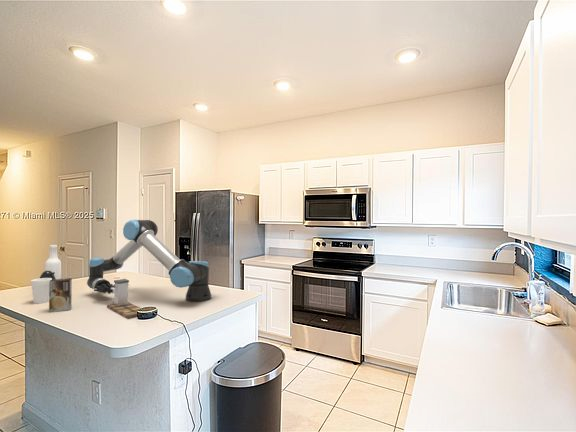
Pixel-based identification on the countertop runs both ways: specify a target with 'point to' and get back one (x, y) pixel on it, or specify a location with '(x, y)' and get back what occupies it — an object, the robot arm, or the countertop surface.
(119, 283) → the silver square canister
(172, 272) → the robot arm
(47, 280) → the foam cup
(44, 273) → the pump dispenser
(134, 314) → the rail board
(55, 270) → the alcohol
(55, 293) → the coffee box
